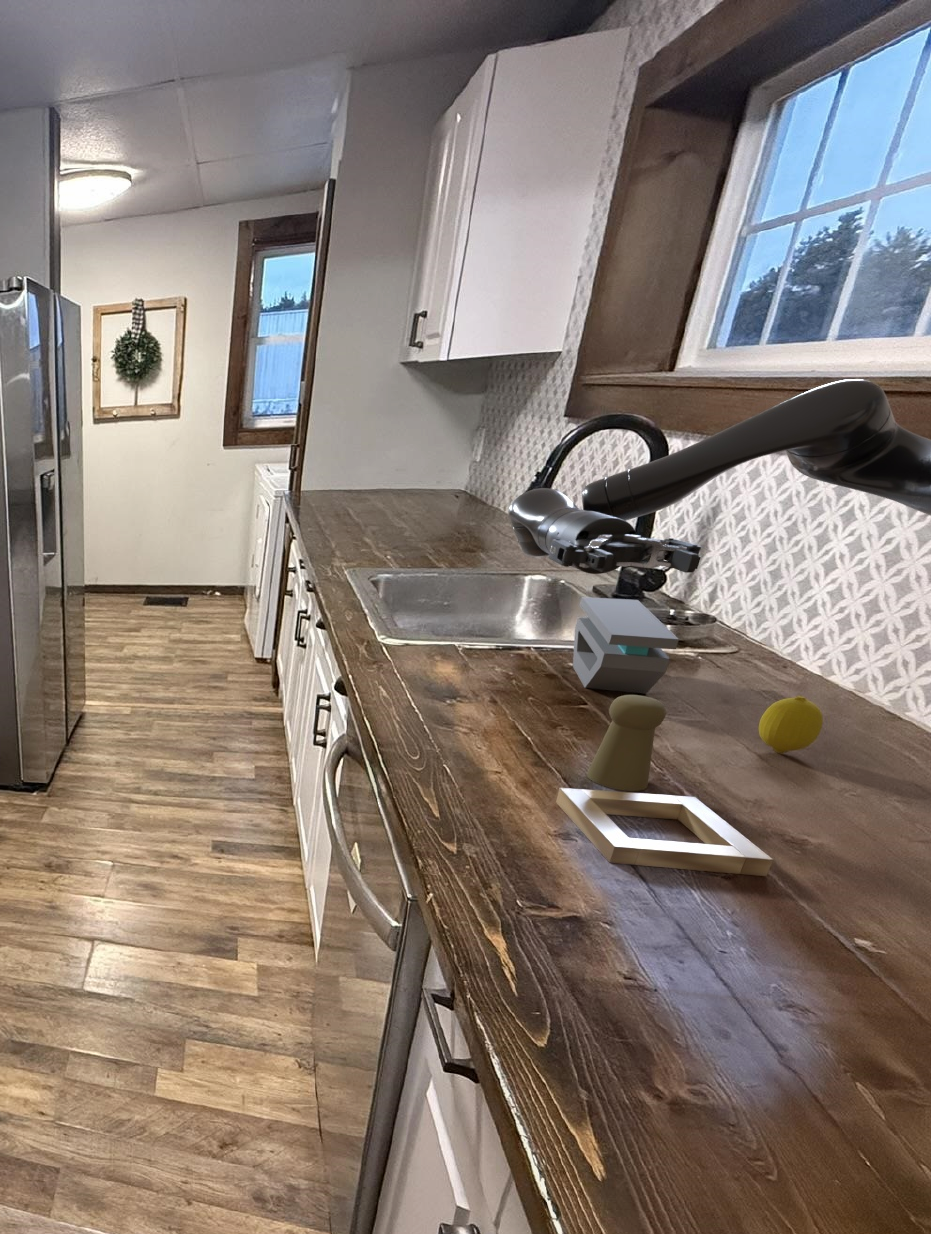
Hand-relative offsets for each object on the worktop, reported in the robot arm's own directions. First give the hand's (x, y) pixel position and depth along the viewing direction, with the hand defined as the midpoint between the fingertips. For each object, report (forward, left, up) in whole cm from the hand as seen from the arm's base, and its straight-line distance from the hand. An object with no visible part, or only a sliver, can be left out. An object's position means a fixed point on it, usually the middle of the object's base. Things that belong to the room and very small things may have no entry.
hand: (650, 563), depth 92 cm
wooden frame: (+10, +18, -26) cm, 33 cm away
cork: (+2, +6, -26) cm, 27 cm away
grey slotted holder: (-28, -25, -26) cm, 46 cm away
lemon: (-24, +4, -26) cm, 35 cm away
